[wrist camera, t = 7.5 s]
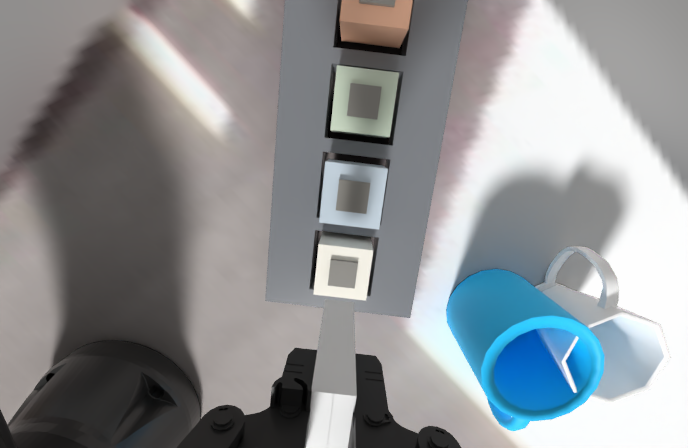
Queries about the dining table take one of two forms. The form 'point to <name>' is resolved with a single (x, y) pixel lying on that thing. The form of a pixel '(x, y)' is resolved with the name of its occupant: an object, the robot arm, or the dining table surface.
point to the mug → (520, 348)
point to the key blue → (353, 194)
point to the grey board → (358, 149)
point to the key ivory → (343, 265)
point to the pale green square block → (363, 101)
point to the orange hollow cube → (375, 21)
